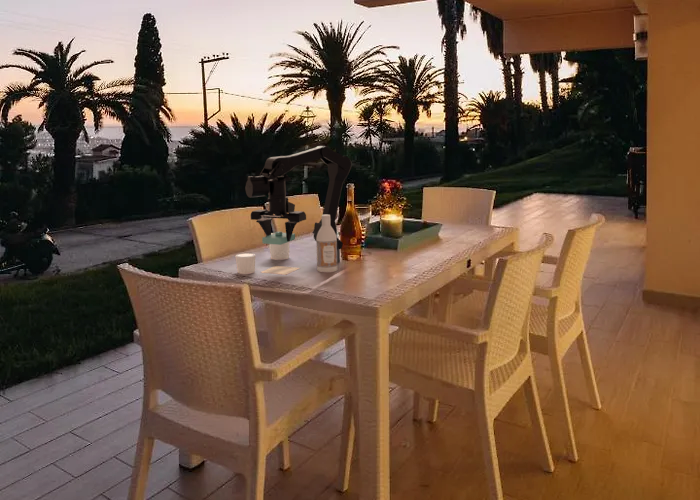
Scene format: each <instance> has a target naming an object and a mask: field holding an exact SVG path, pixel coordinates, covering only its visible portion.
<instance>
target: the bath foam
mask: <svg viewBox="0 0 700 500" xmlns="http://www.w3.org/2000/svg"><path fill="white" fill-rule="evenodd" d="M321 219H322V226H321V228H320V230H319V231H318V234H317V238H316V241H315V242H316V270H317V272H321V273H333V272H336V271H338V263H337V238H338V236H337V237H336V234H335V232H334V230H333V228H332V227H331V225H330V215H328V214H325V215H323V214H322V215H321Z"/></svg>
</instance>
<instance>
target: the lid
mask: <svg viewBox="0 0 700 500" xmlns="http://www.w3.org/2000/svg"><path fill="white" fill-rule="evenodd" d="M273 233H274V234H271V235H268V236H266V235H265V236H262V237H261V238H262V244H267V245H268V244H277V245H281V244H284V243H287V242H288V241H287V237H286V232H283V231H275V232H273ZM295 240H296V233H293V232H292V236H291V239H290V242H292V241H295Z"/></svg>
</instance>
